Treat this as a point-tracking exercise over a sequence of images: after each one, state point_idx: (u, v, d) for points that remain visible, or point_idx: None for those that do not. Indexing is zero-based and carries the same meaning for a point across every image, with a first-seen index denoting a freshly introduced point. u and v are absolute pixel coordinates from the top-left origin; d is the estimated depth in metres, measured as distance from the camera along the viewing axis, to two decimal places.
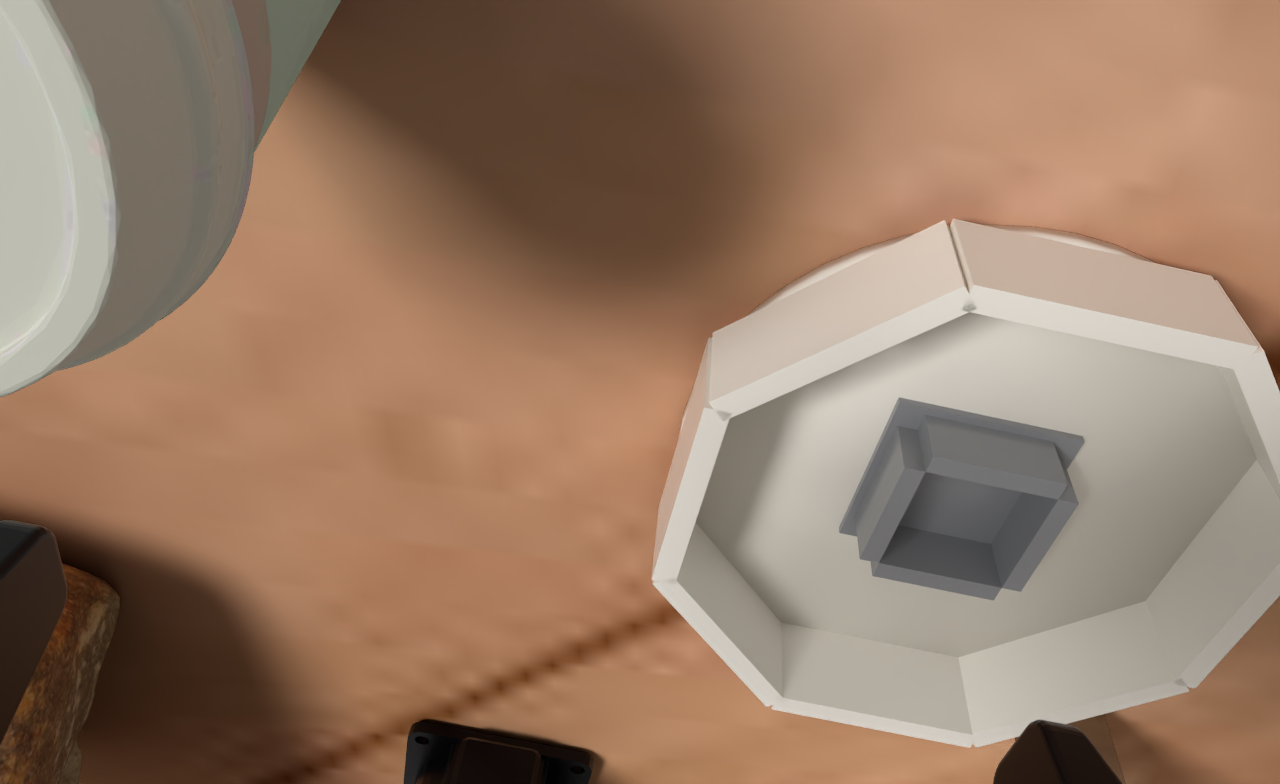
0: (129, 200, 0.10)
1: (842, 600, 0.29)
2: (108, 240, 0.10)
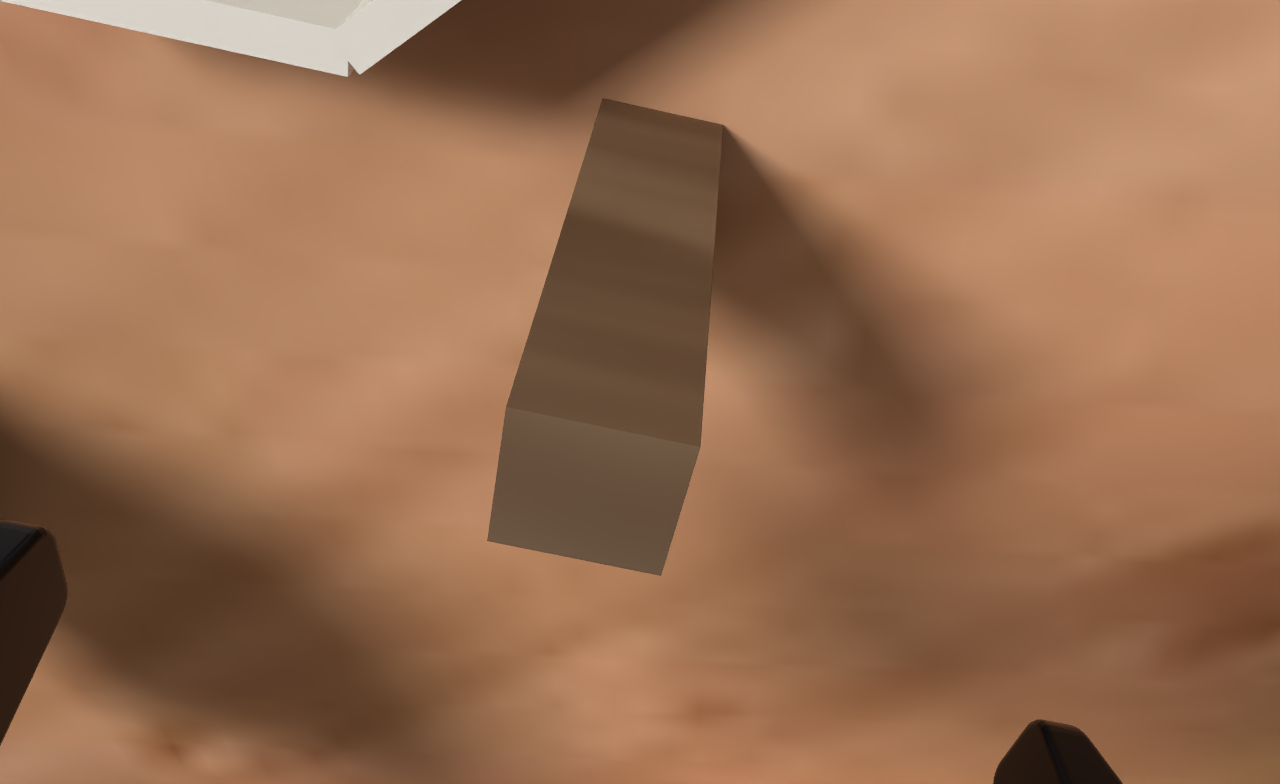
0: None
1: None
2: None
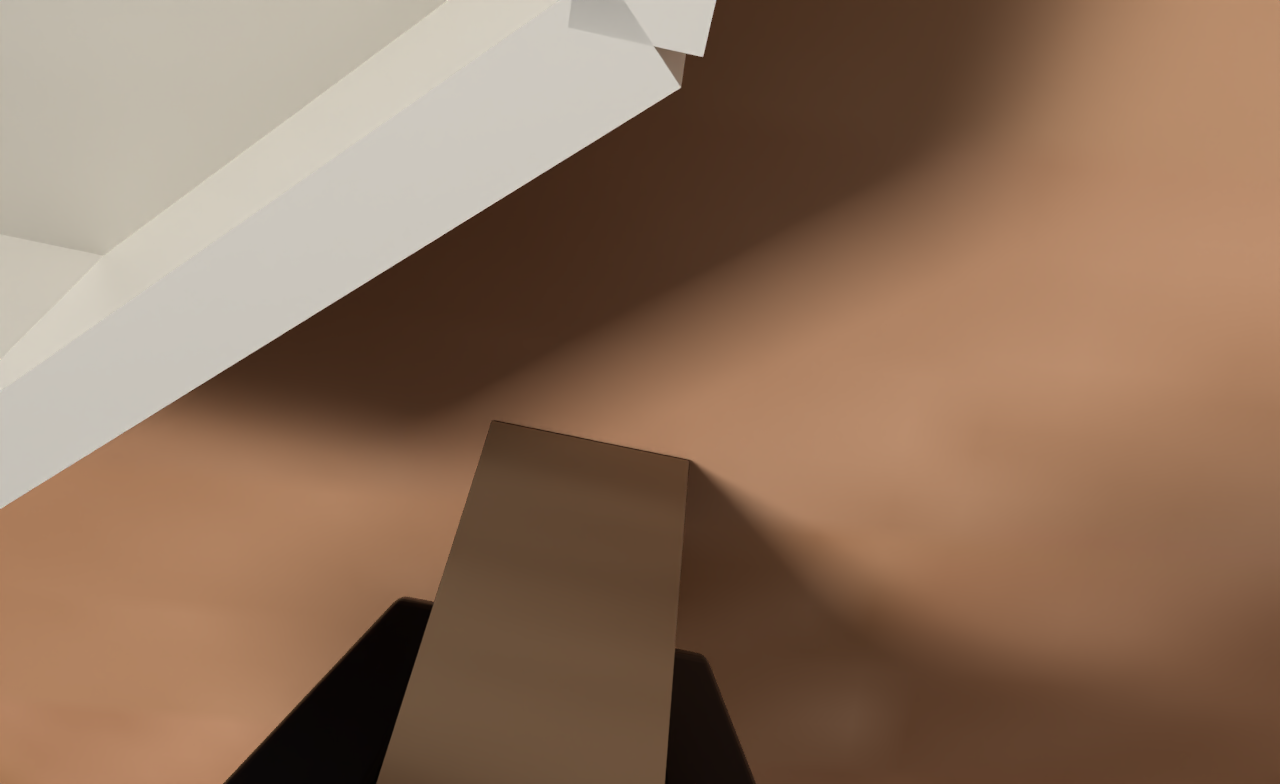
0: None
1: None
2: None
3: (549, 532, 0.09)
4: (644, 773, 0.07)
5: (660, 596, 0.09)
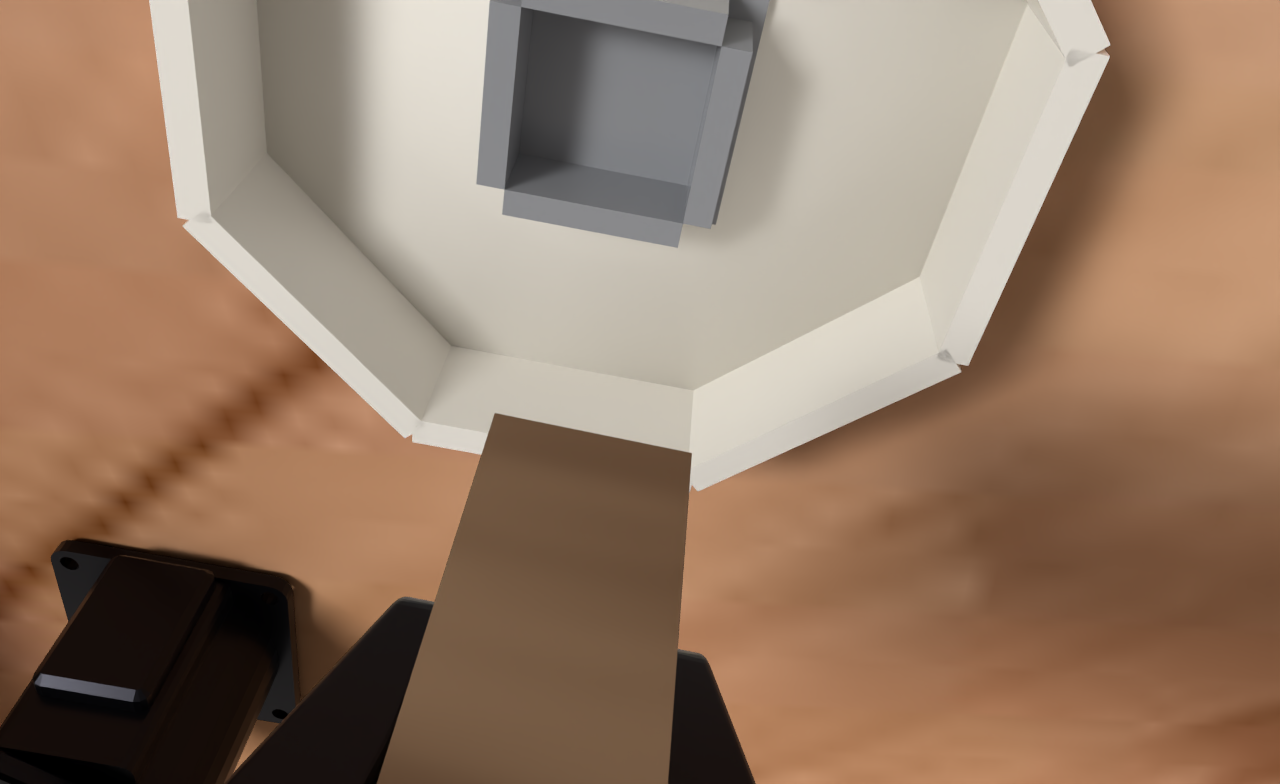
0: None
1: (520, 303, 0.21)
2: None
3: (552, 523, 0.09)
4: (647, 763, 0.07)
5: (663, 587, 0.09)
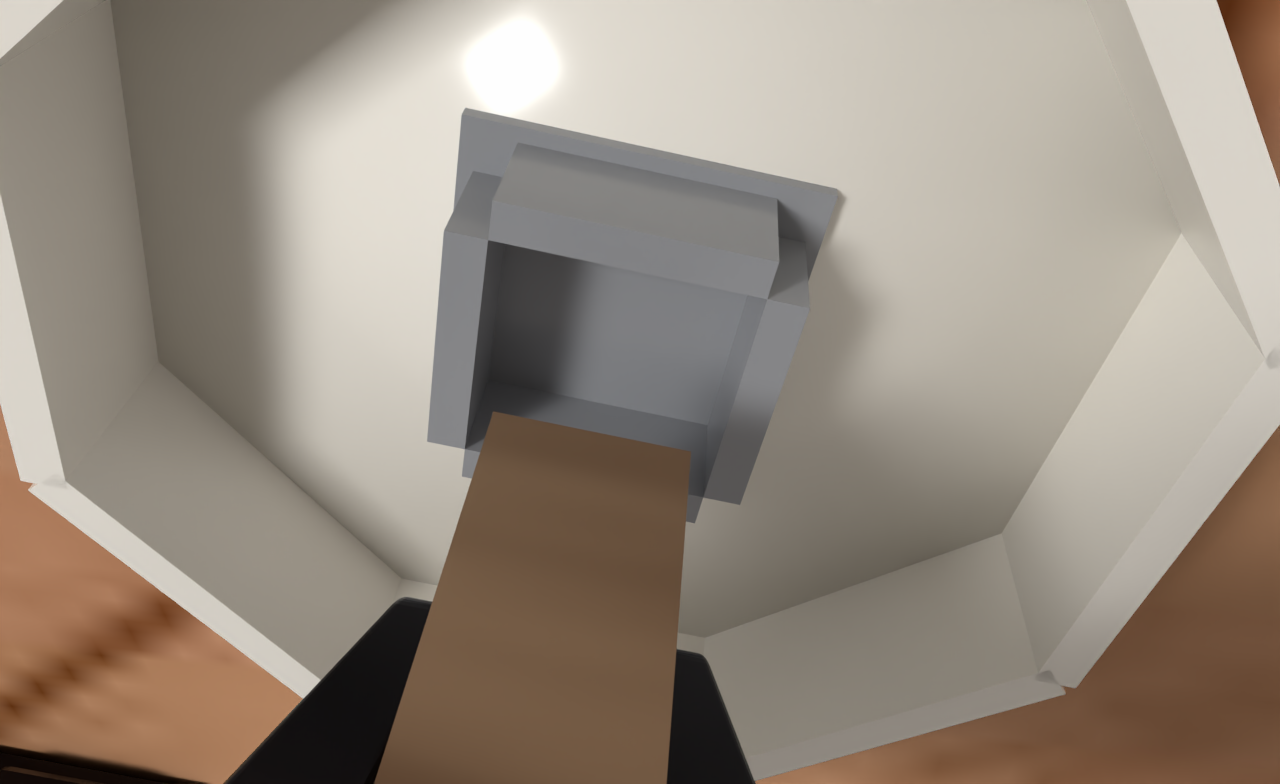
0: None
1: None
2: None
3: (551, 522, 0.09)
4: (646, 762, 0.07)
5: (662, 586, 0.09)
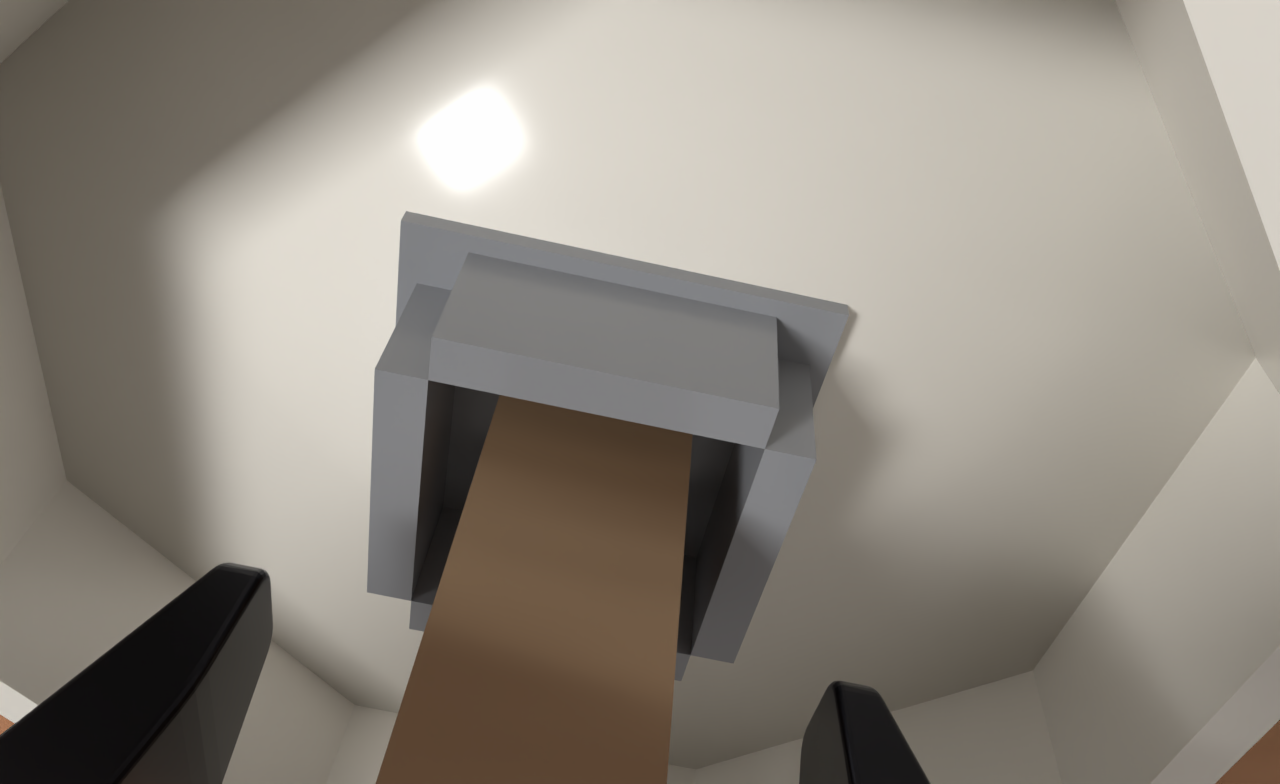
0: None
1: None
2: None
3: (570, 441, 0.10)
4: (658, 640, 0.08)
5: (671, 497, 0.10)
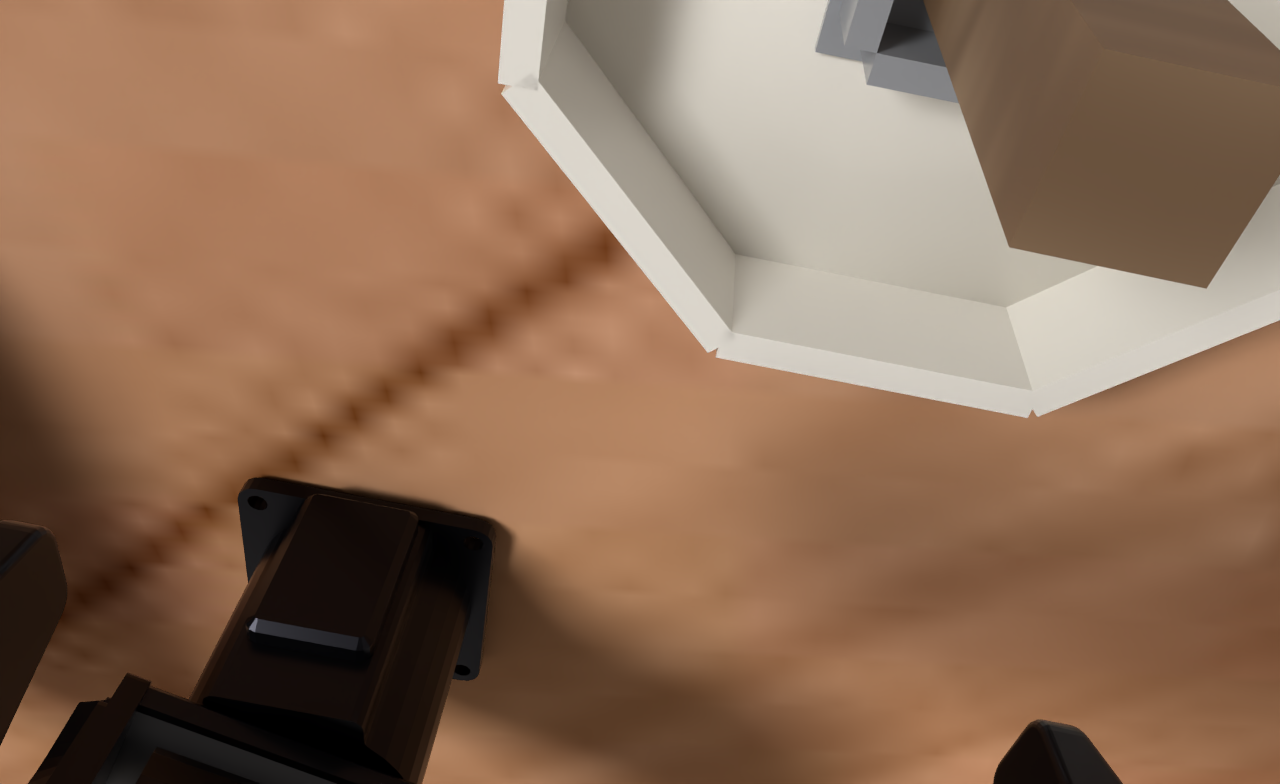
0: None
1: (827, 203, 0.19)
2: None
3: None
4: None
5: None
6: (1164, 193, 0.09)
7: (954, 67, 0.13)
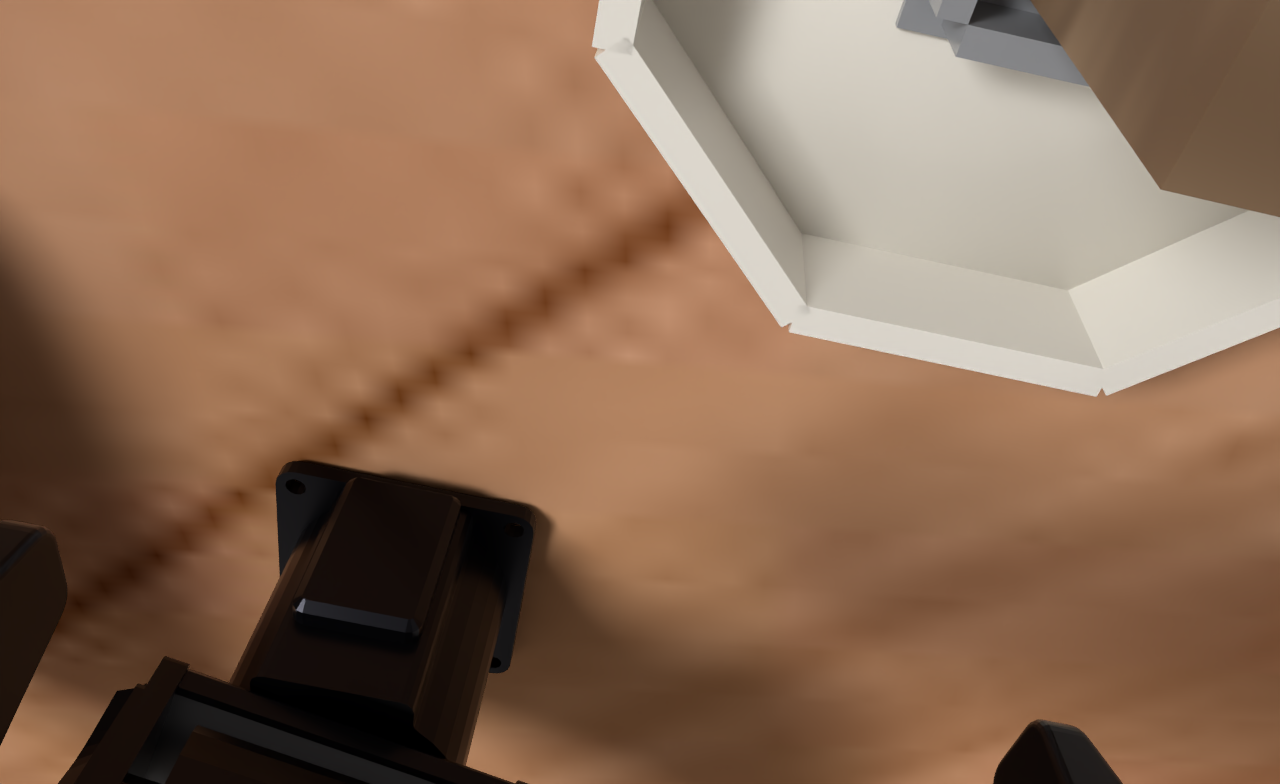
0: None
1: (896, 183, 0.19)
2: None
3: None
4: None
5: None
6: None
7: (1064, 31, 0.13)
